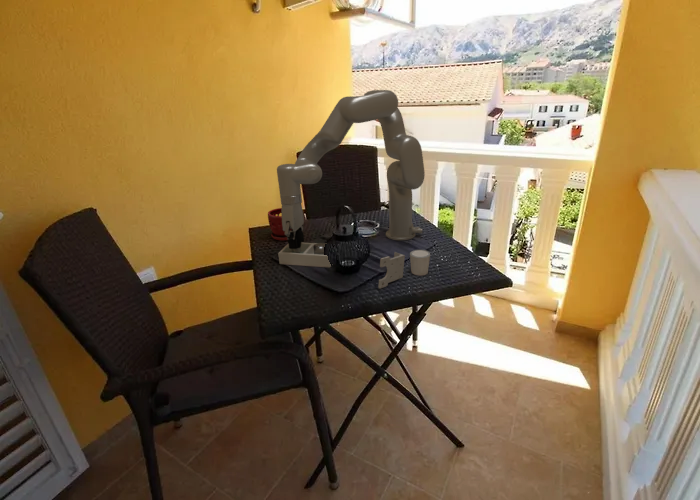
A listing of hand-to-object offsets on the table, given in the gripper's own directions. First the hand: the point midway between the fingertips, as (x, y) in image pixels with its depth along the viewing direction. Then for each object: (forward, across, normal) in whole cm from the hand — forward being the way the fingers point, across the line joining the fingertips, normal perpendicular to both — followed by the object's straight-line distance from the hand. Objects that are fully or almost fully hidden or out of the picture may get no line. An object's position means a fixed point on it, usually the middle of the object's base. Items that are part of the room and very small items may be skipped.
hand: (296, 244), depth 142 cm
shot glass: (+6, +4, +47) cm, 47 cm away
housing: (+6, 0, +5) cm, 8 cm away
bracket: (+6, +12, +37) cm, 39 cm away
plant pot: (+6, -21, -14) cm, 26 cm away
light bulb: (+4, 0, 0) cm, 4 cm away
